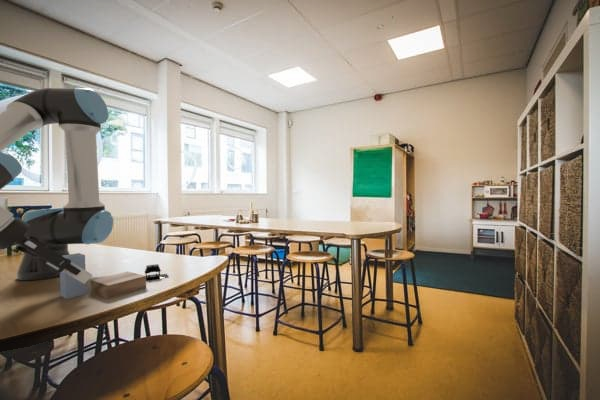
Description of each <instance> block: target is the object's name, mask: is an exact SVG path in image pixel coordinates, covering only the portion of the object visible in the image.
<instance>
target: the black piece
mask: <svg viewBox="0 0 600 400" xmlns="http://www.w3.org/2000/svg"><path fill="white" fill-rule="evenodd" d="M161 272H162V270H161V268H160V265H159V264H158V263H157V264H156V263H155V264H148V265H146V268H145V269H144V274H145V276H146V282H148V281H156V280H161V279H168V278H169V274H168V273H164V274H163V273H162V274H161ZM150 273H154V274H150ZM147 274H148V275H147ZM167 274H168V275H167Z"/></svg>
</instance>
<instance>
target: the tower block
mask: <svg viewBox="0 0 600 400" xmlns="http://www.w3.org/2000/svg"><path fill="white" fill-rule="evenodd" d="M69 254H70V253H69ZM63 257H65V258H66V259H69V260H70V261H71V262H73V263H74V264H76V265H78V266H79V267H81V268H82V269H84V270H86V254H83V253H80V252H79V253H72V254H70V255H64V256H63ZM63 262H64V261H63ZM63 262H62V263H63ZM62 263H61V264H62ZM61 264H60V265H61ZM86 271H87V270H86ZM59 283H60V285H59V286H60V297H62V298H64V299H66V300H67V299H71V298H76V297H79V296H83V295H87V282H86V283H85V284H84V283H82V282H80V281H78V280H77V279H75V278H73V277H72V276H70V275H68V274H67V273H65V272H63V271H62V272H61V273H60V276H59Z"/></svg>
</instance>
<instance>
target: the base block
mask: <svg viewBox="0 0 600 400" xmlns="http://www.w3.org/2000/svg"><path fill="white" fill-rule="evenodd" d="M90 288H91V291H90V293H91V294H94V295H96V296H99V297H101V298H104V299H107V300H112V299H115V298H119V297H122V296H125V295H129V294H131V293H135V292H138V291H141V290H144V289H145V290H146V289H147V281H146V275H144V274H139V273H135V272H131V271H124V272H121V273H116V274H112V275H108V276H103V277H99V278H95V279H91V280H90Z"/></svg>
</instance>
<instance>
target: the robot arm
mask: <svg viewBox="0 0 600 400" xmlns="http://www.w3.org/2000/svg"><path fill="white" fill-rule="evenodd" d="M108 118H109V110H108V107H107V104H106V102H105V100H104V99H103V97H102V96H101V94H99V93H98V92H97V91H96V90H93V89H91V88H87V87H84V88H83V87H82V88H81V87H54V88H53V87H45V88H40V89H36V90H34V91H31V92H29V93H27V94H24V95H23V96H20V97H19V98H17V99H14V100H13V101H11V102H10V103H8V104H7V105H6V109H5V110H4V111H2V112H1V113H0V190H2V189H3V188H4V187H7V185H9V184H10V183H12V182H14V180H15V179H16V178H17V177H18V176H20V174H21V173H22V171H23V168H22V164H21V163H20V162H19V161H18V159H17V158H16V157H14V156H13V155H12V154H10V153H7V152H4V150H5V149H6V148H8V147H9V146H11V145H12V144H14V143H15V142H16V141H18V140H20V139H21V138H22V137H24V136H25V135H26V134H28V133H29V132H31V131H35V130H39V129H41V128H42V127H44V126H47V125H52V124H54V125H55V124H58V127H59V128H60V129H62V131H64V136H65V140H64V141H65V153H66V154H65V156H66V174H67V178H66V179H67V189H68V190H67V192H68V193H67V194H68V202H67V203H66V204H64V206H63V207H51V208H42V209H35V210H30V211H26V212H25V213H23V215H22V219H21V218H19V216H18V217H16V216H14V213H12V212H11V211H9V210H8V209H7V208H4V207H3V206H1V205H0V250H6V249H7V248H10V247H11V246H12V245H15V246H17V247H16V250H18V251H20V252H22V253H23V257H22V258H21V262H20V264H19V267H18V268H17V269H18V270H17V274H16V276H17V277H16V278H17V280H19V281H36V280H38V281H39V280H45V279H51V278H56V277H60V273H61V272H62V271H63V272H65V273H67V274H68V275H70V276H72V277H73V278H75V279H77V280H78V281H80V282H82V283H84V284H85V283H86V284H87V282H88V281H89V280H90V279H91V278H92V277H93V274H92V273H90V272H89V271H87V270H84V269H82V268H81V267H79V266H78V265H76V264H74V263H73V262H71V261H70V260H69V259H66V258H65V257H63V256H64V255H70V252H69V245H91V244H100V243H103V242H104V241H106V240H107V239H108V238H109V236H110V235H111V233H112V230H113V228H114V217H113V215H112V213H111V212H110V211H108V210H106V206H105V204H104V203H102V202H101V201H100V190H99V189H100V188H99V185H100V184H99V170H98V169H99V168H98V148H97V134H98V133H99V132H101V131H102V126H101V125H103V124H105V123H106V122H107V121H108ZM63 261H64V262H63ZM62 262H63V263H62ZM61 263H62V264H61ZM60 264H61V265H60Z"/></svg>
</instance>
